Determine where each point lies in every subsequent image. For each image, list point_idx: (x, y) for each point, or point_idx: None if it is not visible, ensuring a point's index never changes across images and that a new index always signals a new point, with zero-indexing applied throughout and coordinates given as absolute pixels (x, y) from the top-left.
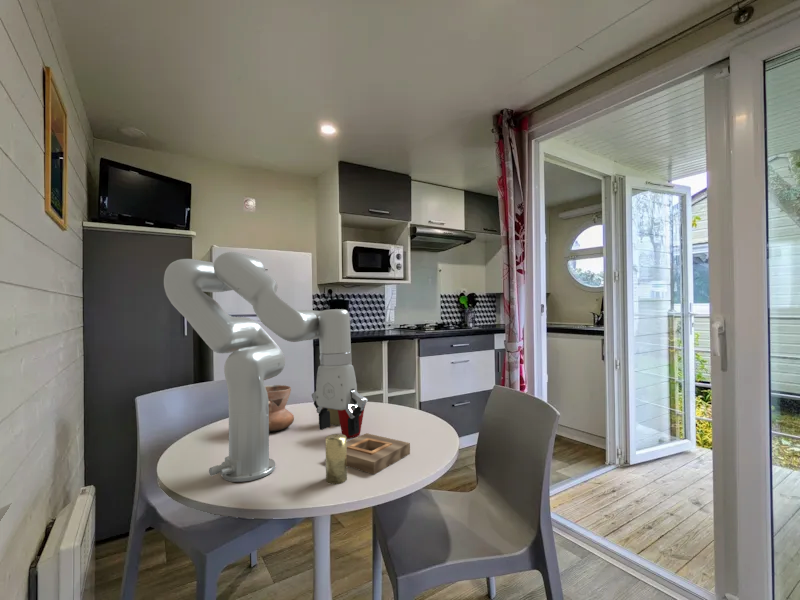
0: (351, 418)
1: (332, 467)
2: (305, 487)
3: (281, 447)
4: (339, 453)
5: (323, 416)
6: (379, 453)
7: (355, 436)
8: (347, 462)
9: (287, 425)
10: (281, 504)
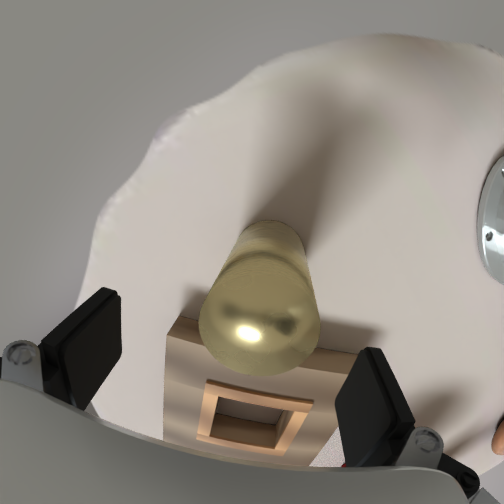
0: (31, 343)
1: (257, 234)
2: (336, 171)
3: (497, 362)
4: (224, 267)
5: (374, 422)
6: (191, 390)
7: (345, 464)
8: None
9: (500, 427)
10: (334, 61)
